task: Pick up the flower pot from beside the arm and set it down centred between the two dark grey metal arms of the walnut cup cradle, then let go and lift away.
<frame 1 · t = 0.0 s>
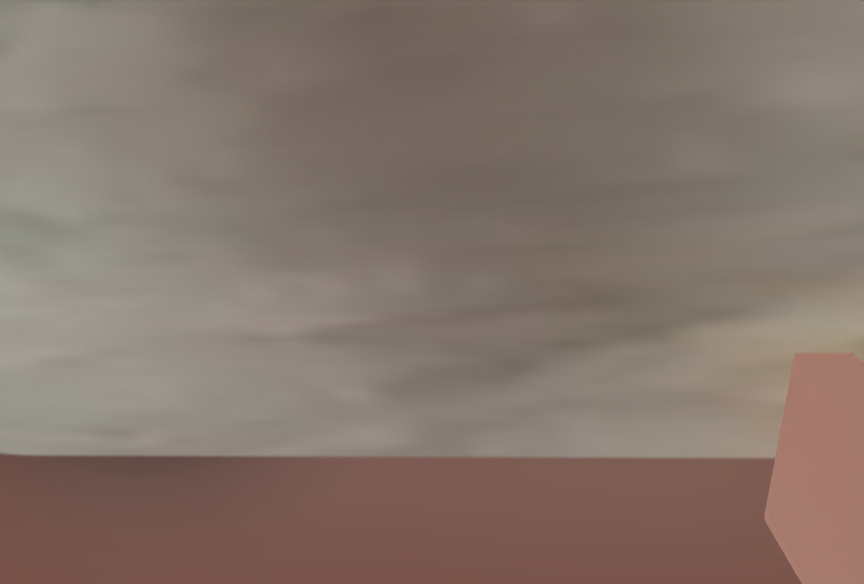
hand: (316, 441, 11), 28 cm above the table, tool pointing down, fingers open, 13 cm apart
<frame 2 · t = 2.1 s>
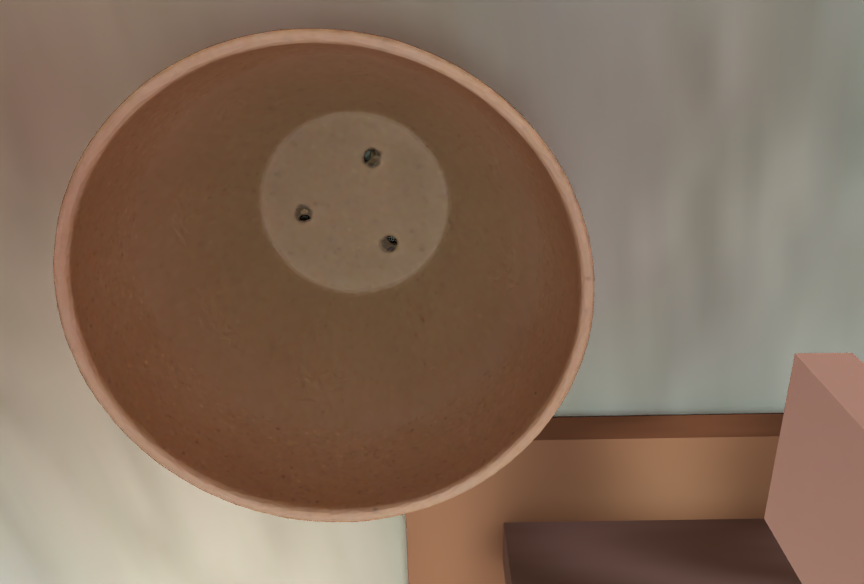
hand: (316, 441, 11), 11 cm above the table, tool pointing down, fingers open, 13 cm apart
flower pot: (359, 197, 21), on the table
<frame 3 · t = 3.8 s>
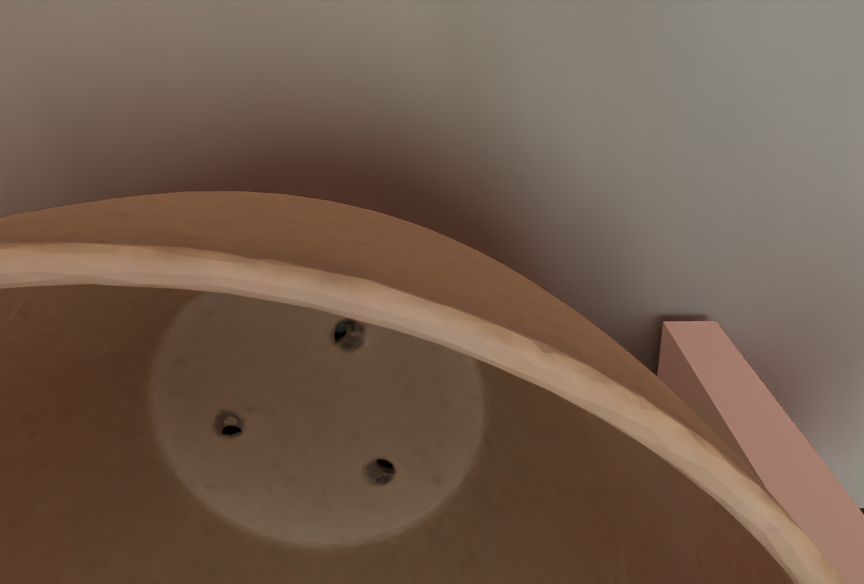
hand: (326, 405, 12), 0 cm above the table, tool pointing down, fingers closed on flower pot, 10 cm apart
flower pot: (329, 389, 12), on the table, touching gripper
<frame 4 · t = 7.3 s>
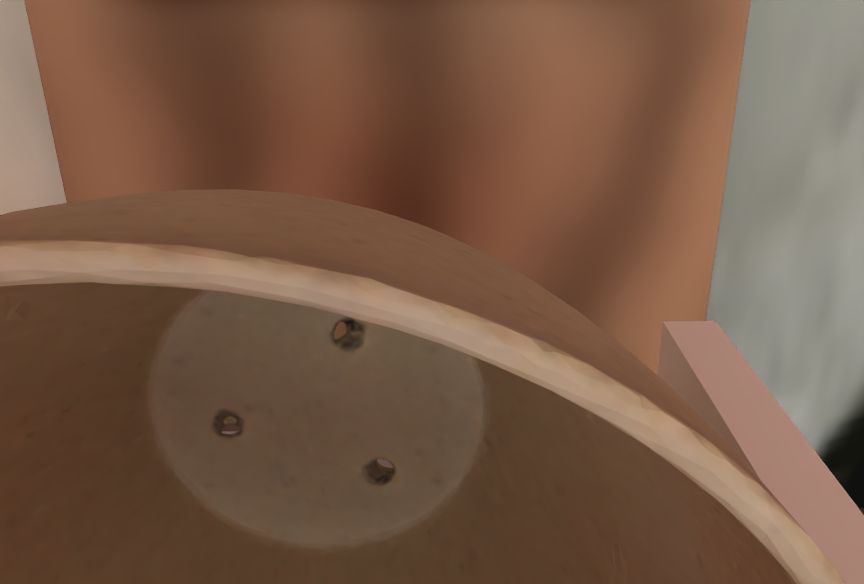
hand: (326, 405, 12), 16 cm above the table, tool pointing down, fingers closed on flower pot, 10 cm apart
flower pot: (329, 388, 12), point 16 cm above the table, touching gripper
cup cradle: (394, 170, 27), on the table
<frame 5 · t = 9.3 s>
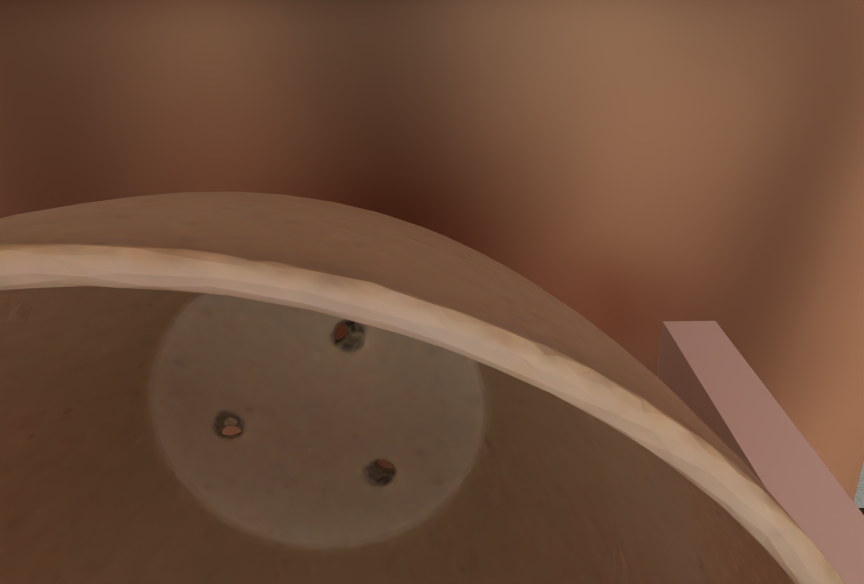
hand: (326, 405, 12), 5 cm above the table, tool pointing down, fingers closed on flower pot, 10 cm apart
flower pot: (330, 389, 12), point 5 cm above the table, touching gripper
cup cradle: (355, 273, 16), on the table
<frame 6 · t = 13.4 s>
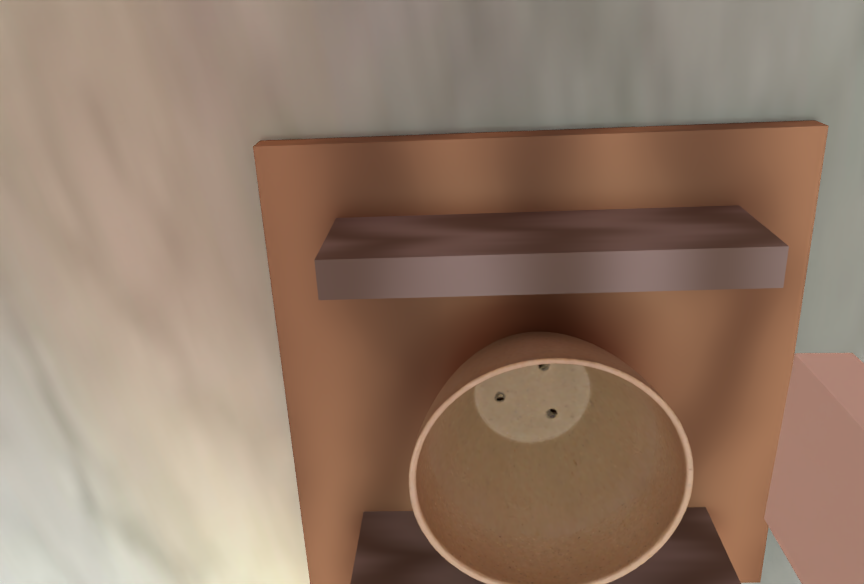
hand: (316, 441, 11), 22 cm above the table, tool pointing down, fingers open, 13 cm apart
flower pot: (532, 384, 34), point 1 cm above the table, touching cup cradle
cup cradle: (531, 374, 35), on the table
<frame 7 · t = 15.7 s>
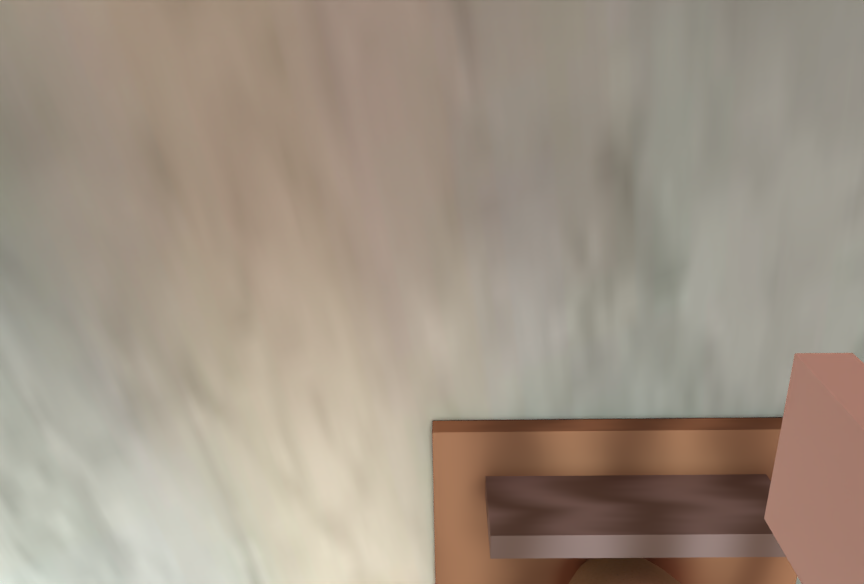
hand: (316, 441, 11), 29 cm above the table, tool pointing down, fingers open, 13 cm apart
flower pot: (613, 579, 47), point 1 cm above the table, touching cup cradle
cup cradle: (611, 569, 48), on the table
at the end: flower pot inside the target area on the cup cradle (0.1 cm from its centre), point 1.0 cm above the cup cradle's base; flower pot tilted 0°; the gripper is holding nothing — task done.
